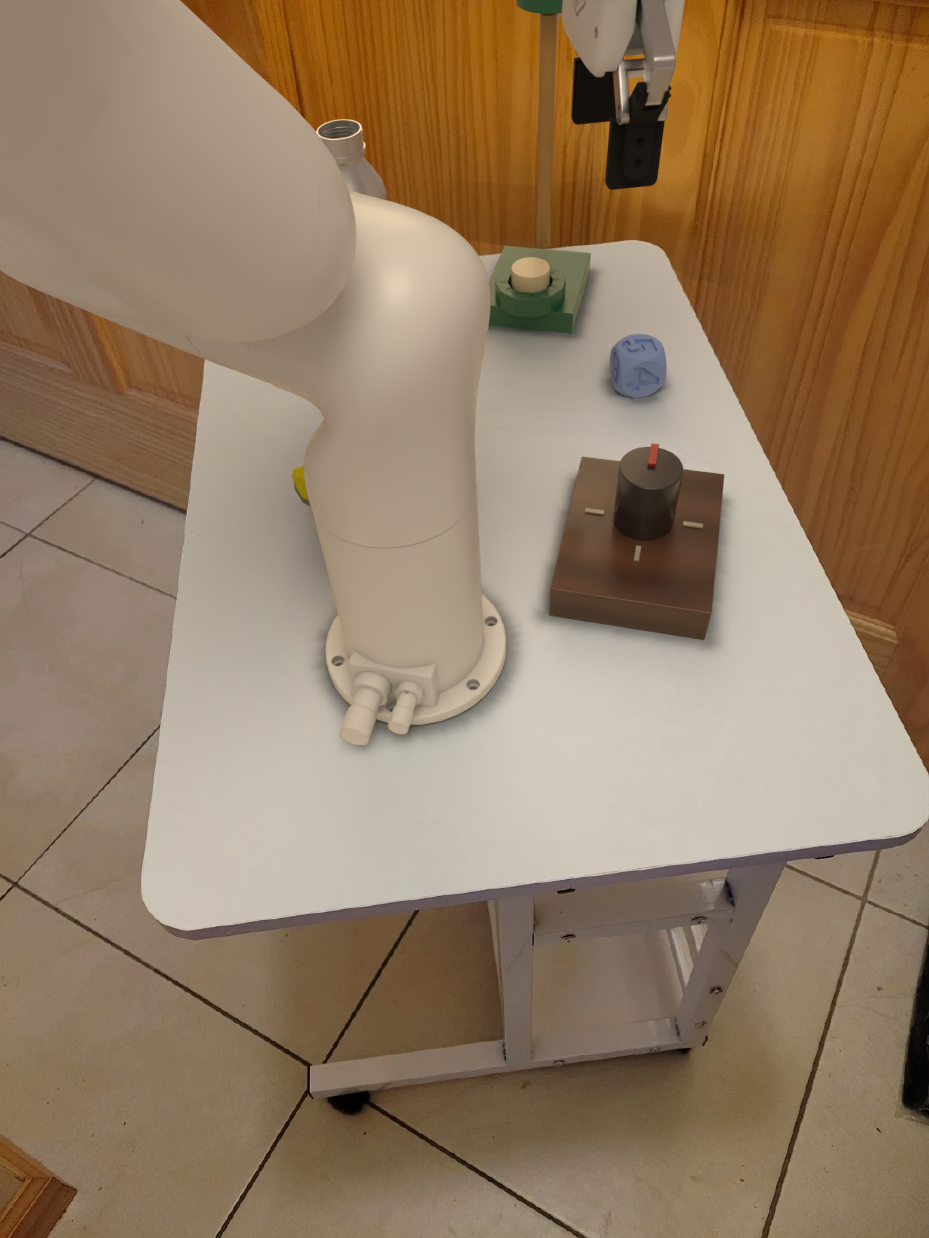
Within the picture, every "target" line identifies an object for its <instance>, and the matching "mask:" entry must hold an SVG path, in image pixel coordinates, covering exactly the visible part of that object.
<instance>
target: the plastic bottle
mask: <svg viewBox="0 0 929 1238" xmlns="http://www.w3.org/2000/svg"><path fill="white" fill-rule="evenodd" d="M315 131H316V133H317V134H318V135H319V137H320V138H321V140H322V141H323V143H324V144H325V146H326V147H327V148H328V150H329V152H330V153H331V155H332V156H333V158H334V159H335V161H336V163H337V165H338V167H339V169H340V171H341V174H342V176H343V178H344V180H345V183H346V185H347V187H348V190H350V191H353V192H357V193H361V194H365V195H368V196H372V197H376V198H380V199H384V200H387V201H388V193H387V188H386V186H385V184H384V180H383V179H382V177H381V176H380V174H379V173H378V172H377V171H376V169H375V167H374V166H373V165H372V164H371V163H370V162H369V161H368V160H367V159H366V157H365V154H366V152H367V148H366V147H367V146H366V142H365V141H364V133H363V128H362V124H361V123H360V122H359V121H356V120H353V119H346V118H345V119H334V120H330V121H327V122H324V123H322V124H321V125H320V126H318V128H317V129H316V130H315Z"/></svg>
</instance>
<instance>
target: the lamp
mask: <svg viewBox="0 0 929 1238" xmlns="http://www.w3.org/2000/svg"><path fill="white" fill-rule="evenodd" d="M562 5H563V0H516V6H517V7H518V8H519V9H521V10H523V11H525V12H528V13H533V14H538V15H539V52H538V53H539V56H538V57H539V59H538V61H539V62H538V115H537V116H538V117H537V160H536V161H537V163H536V166H537V167H536V218H535V219H536V221H535V246H536V248H537V249H547V248H549V247H550V246H551V231H552V229H551V228H552V227H551V226H552V201H553V199H552V197H553V169H554V168H553V166H554V162H553V161H554V137H555V136H554V134H555V133H554V131H555V105H556V101H555V100H556V75H557V73H556V71H557V70H556V69H557V41H558V39H557V38H558V20H559V19H560V18H561V17H562Z"/></svg>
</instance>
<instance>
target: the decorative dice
mask: <svg viewBox="0 0 929 1238" xmlns="http://www.w3.org/2000/svg"><path fill="white" fill-rule="evenodd" d="M667 365H668V364H667V355H666V351H665V348H664V345H663V343H662V342H661V340H659V339H658V338H656V337H655V336H653V335H650V334H645V333H644V334H643V333H633V334H629V335H626V336H624V337H622V338H621V339H619V340H617V342H616V343H615V344H614V345H613V346H612V347H611V349H610V354H609V372H610V373H609V374H610V378H611V383H612V386H613V388H614V390H615V391H616V392H617V393H619V394H620V395H622V396H624V397H627V398H631V399H632V398H633V399H642V398H646V397H649V396H651V395H653V394H655V393H656V392H658V390H660V389H661V387H662V386H664V383H665V382H666V379H667V369H668V368H667V367H668V366H667Z"/></svg>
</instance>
